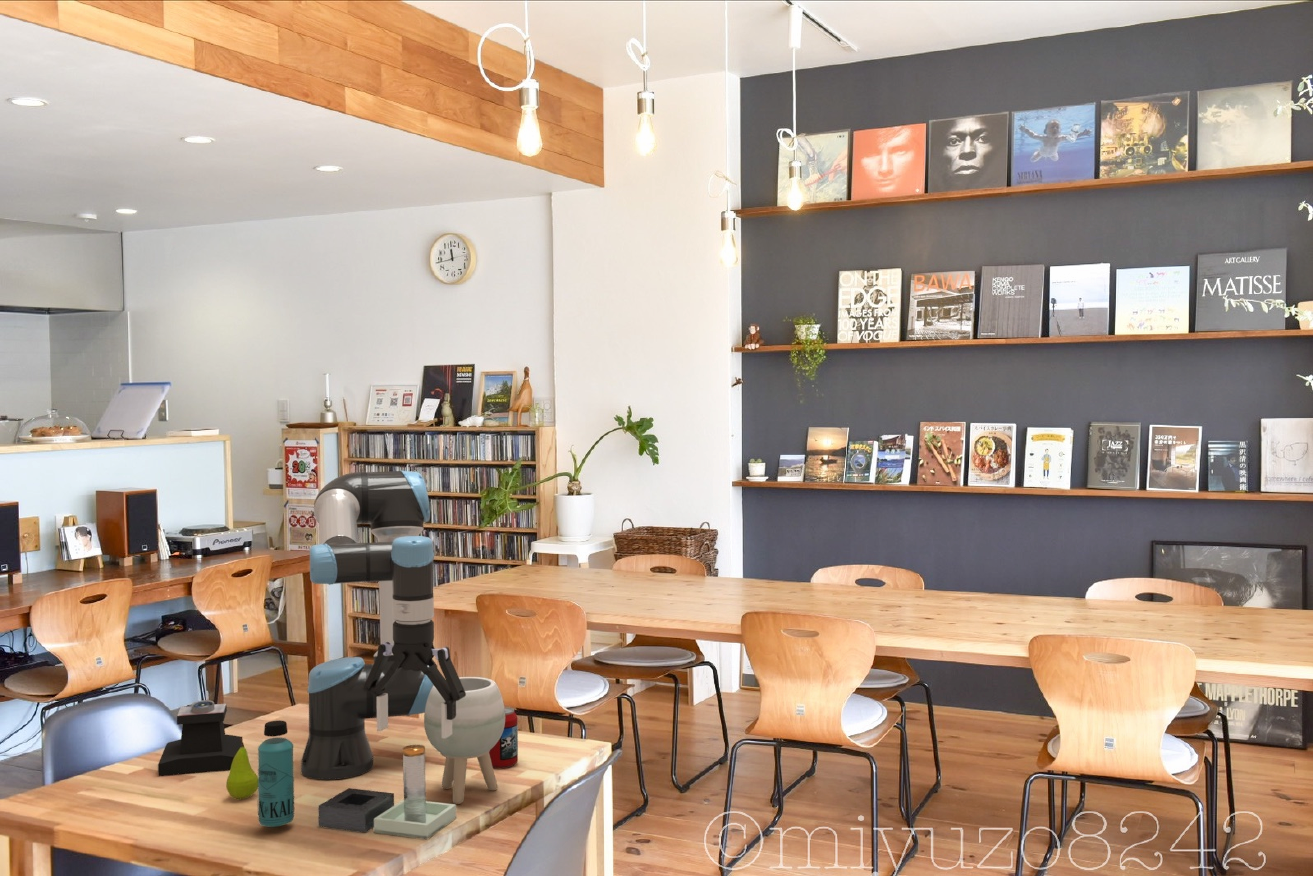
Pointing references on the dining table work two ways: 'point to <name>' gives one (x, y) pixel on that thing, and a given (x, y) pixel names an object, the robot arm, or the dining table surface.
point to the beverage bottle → (275, 777)
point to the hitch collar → (354, 809)
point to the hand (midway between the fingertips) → (414, 733)
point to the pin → (414, 783)
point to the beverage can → (506, 743)
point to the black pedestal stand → (200, 742)
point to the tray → (435, 821)
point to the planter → (467, 731)
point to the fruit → (241, 776)
